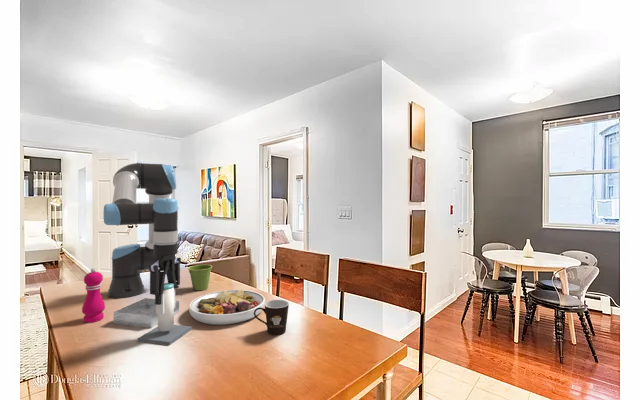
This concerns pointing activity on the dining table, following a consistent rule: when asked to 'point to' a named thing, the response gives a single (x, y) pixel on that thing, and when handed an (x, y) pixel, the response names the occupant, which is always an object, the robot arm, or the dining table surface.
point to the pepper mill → (93, 297)
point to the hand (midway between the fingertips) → (165, 310)
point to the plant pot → (200, 276)
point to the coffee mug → (275, 316)
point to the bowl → (226, 307)
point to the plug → (167, 309)
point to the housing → (140, 314)
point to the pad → (165, 335)
